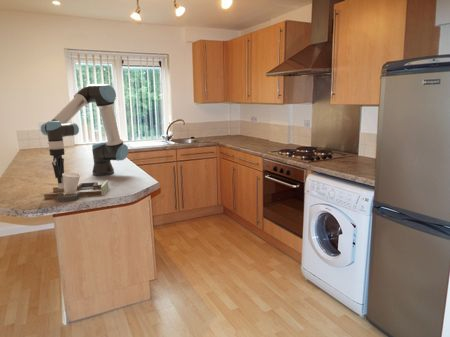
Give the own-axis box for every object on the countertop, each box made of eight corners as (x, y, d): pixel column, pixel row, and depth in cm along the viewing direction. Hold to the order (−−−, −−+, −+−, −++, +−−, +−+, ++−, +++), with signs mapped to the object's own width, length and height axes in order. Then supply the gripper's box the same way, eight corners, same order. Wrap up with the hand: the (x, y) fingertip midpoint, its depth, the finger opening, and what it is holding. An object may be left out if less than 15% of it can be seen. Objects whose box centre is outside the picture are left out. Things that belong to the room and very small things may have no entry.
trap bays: (72, 187, 208) (72, 183, 208) (98, 185, 211) (97, 182, 210) (56, 201, 180) (56, 197, 179) (86, 199, 182) (85, 195, 181)
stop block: (106, 188, 205) (106, 180, 203) (108, 188, 205) (108, 180, 204) (101, 195, 190) (100, 186, 189) (103, 195, 190) (102, 186, 189)
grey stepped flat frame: (54, 191, 200) (53, 187, 200) (106, 188, 205) (106, 184, 204) (44, 198, 185) (43, 194, 185) (101, 195, 190) (101, 191, 189)
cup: (57, 191, 193) (58, 173, 190) (72, 189, 201) (73, 171, 199) (67, 196, 188) (68, 177, 186) (82, 193, 196) (84, 175, 194)
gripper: (53, 146, 194) (58, 185, 199) (45, 150, 181) (50, 191, 186) (67, 146, 195) (71, 185, 200) (59, 149, 182) (64, 190, 187)
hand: (61, 188), depth 193 cm, fingers closed
